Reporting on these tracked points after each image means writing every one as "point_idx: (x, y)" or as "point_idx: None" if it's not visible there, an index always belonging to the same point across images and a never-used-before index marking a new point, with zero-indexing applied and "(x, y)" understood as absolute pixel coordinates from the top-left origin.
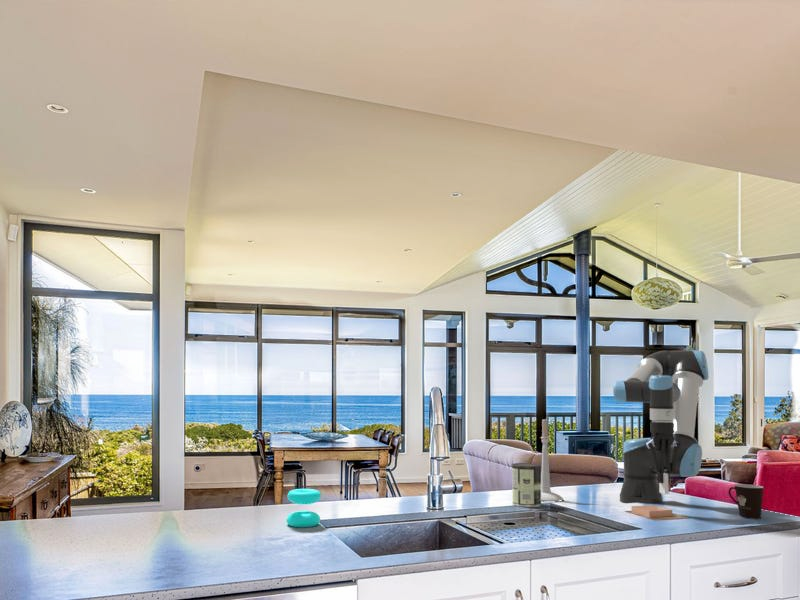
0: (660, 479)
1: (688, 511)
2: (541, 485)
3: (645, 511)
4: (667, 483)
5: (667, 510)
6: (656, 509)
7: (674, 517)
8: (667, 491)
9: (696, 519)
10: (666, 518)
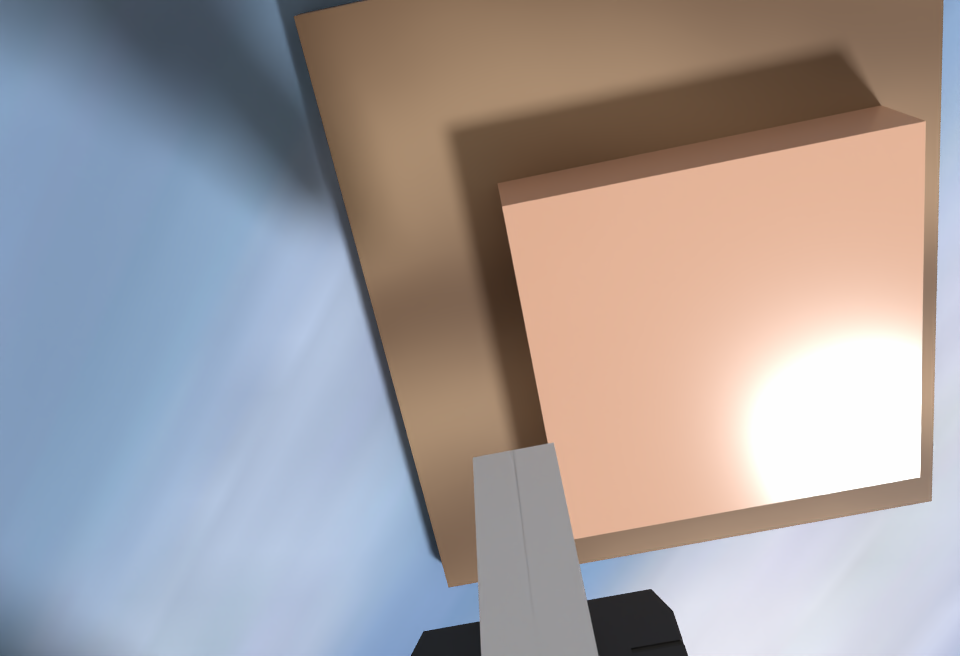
0: (685, 650)
1: (73, 579)
2: None
3: (915, 199)
4: (502, 579)
5: (587, 189)
6: (728, 243)
7: (518, 91)
8: (498, 478)
9: (178, 118)
10: (680, 21)
